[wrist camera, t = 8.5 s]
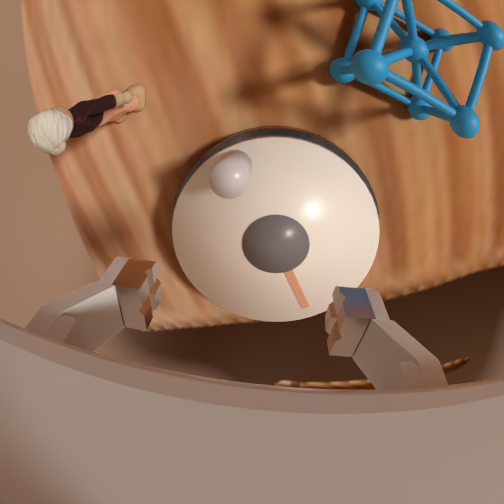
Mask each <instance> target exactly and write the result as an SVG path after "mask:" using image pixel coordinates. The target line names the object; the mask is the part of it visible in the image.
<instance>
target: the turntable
mask: <svg viewBox="0 0 504 504" xmlns="http://www.w3.org/2000/svg"><path fill="white" fill-rule="evenodd" d="M172 238H173V246H174V249H175V253H176V257H177V259H178V261H179V264H180V266H181V268H182V270H183V271H184V273H185V275H186V276H187V278H188V279H189V280H190V282H191V283H192V284H193V286H194V287H195V288H196V289H197V290H198V291H199V292H200V293H201V294H202V295H204V296H205V297H206V298H207V299H209V300H210V301H211V302H213V303H214V304H216V305H218V306H219V307H221V308H223V309H225V310H227V311H229V312H231V313H234V314H237V315H239V316H242V317H246V318H250V319H254V320H261V321H274V322H279V321H291V320H299V319H303V318H307V317H311V316H313V315H316V314H319V313H322V312H324V311H326V310H327V309H328V305H329V304H330V303H332V302H333V297H332V294H333V291H334V289H335V287H336V286H344V287H353V288H357V287H358V286H359V285H360V283H361V282H362V281H363V279H364V278H365V277H366V275H367V273H368V271H369V270H370V268H371V266H372V263H373V261H374V258H375V256H376V252H377V248H378V242H379V219H378V214H377V209H376V206H375V203H374V201H373V198H372V196H371V194H370V192H369V190H368V188H367V186H366V185H365V183H364V182H363V181H362V179H361V178H360V177H359V175H358V174H357V173H356V172H355V170H354V169H353V168H352V167H351V166H350V165H349V164H348V163H347V162H346V161H345V160H344V159H342V158H341V157H340V156H338V155H337V154H335V153H334V152H333V151H331V150H329V149H327V148H325V147H323V146H321V145H319V144H317V143H314V142H311V141H309V140H306V139H302V138H297V137H292V136H280V135H269V136H258V137H254V138H249V139H245V140H242V141H239V142H237V143H234V144H231V145H229V146H227V147H225V148H224V149H222V150H220V151H218V152H217V153H215V154H214V155H213V156H211V157H210V158H209V159H207V160H206V161H205V162H204V163H203V164H202V165H201V166H200V167H199V168H198V169H197V170H196V171H195V173H194V174H193V175H192V176H191V178H190V179H189V180H188V182H187V183H186V185H185V186H184V188H183V190H182V192H181V194H180V196H179V198H178V200H177V203H176V206H175V210H174V215H173V221H172Z"/></svg>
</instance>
